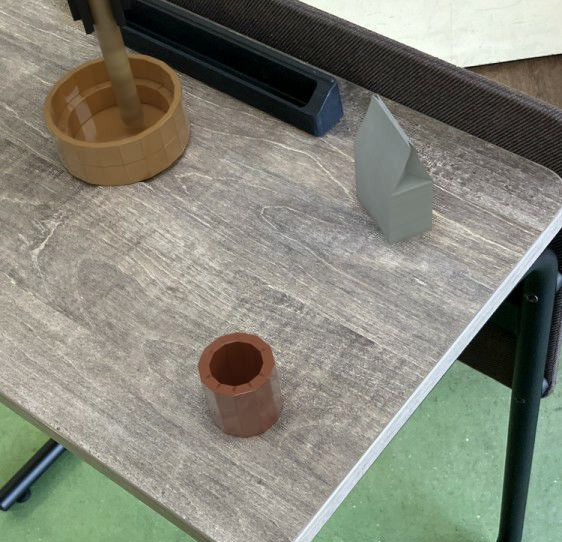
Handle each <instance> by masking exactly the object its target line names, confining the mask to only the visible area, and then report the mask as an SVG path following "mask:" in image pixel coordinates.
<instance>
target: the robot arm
mask: <svg viewBox="0 0 562 542" xmlns="http://www.w3.org/2000/svg"><path fill="white" fill-rule="evenodd" d="M66 2H67V5H68V8H69V11H70V15H71V17H72V20H73V22H78V21H81V23H82V26H83V29H84V31H85V35H86V36H89V35H92V34H93V32H94V33H95V29H94V25H93V21H92V18H91V15H90V11H89V8H88V5H87V2H86V0H66ZM110 2H111V6H112V9H113V13H114V16H115V20H116V23H117V26H119V28H123V27H127V24H126V18H125V13H124V11H126V10H131V9H132V7H131V2H130V0H110Z"/></svg>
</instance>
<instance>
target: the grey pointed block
mask: <svg viewBox="0 0 562 542" xmlns="http://www.w3.org/2000/svg"><path fill="white" fill-rule="evenodd" d="M361 122H362V123H361V125H360V127H359V129H358V131H357V134H356V136H355V138H354V140H353V157H354V178H355V196H356V197H357V198H358V200H359V202H360V203H361V205H362V207H363V208H364V210H365V211H366V213H367V215H368V216H369V217H371V218H372V219H373V220H374V223H375V224H376V225H377V227H378V229H379V231H380V232H381V233H382V235H383V236H384V239H385V240H386V242H387V243H388V244H389V246H392V245H395V244H398V243H400V242H403V241H406V240H409V239H412V238H414V237H417V236H420V235H422V234H425V233H427V232H430V231H432V229H433V208H434V207H433V206H434V186H435V184H434V183H435V181H434V179H433V178H432V177H431V175H430V173H429V172H428V170H427V169H426V168H425V166H424V165H423V163H422V162H421V159H420V158H419V155H418V153H417V149H416V146H415V145H414V144H413V142H412V141H411V139H410V138H409V137H408V135H407V134H406V132H405V131H404V129H403V128H402V126H401V125H400V124H399V122H398V121H397V120H396V118H395V117H394V115H393V114H392V113H391V111H390V109H389V108H388V107H387V106H386V104H385V102H383V100H382V99H381V97H380V96H379V94H378V93H376V96H375V95H374V94H371V98H370V103H369V106H368V108H367V110H366V114H365V116H364V118H363V120H362V121H361Z"/></svg>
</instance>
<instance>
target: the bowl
mask: <svg viewBox="0 0 562 542" xmlns="http://www.w3.org/2000/svg"><path fill="white" fill-rule="evenodd" d="M126 53H127V56H128V60H129V64H130V67H131V71H132V74H133V78H134V81H135V85H136V89H137V92H138V96H139V99H140V103H141V106H142V110H143V114H144V121H143V122H142V123H141V124H140V125H138V126H134V127H129V126H126V125H125V124H124V123H123V121H122V118H121V114H120V111H119V108H118V105H117V101H116V98H115V95H114V91H113V88H112V85H111V82H110V78H109V75H108V72H107V69H106V65H105V62H104V59H103V56H101V57H97V58H93V59H90V60H87V61H85V62H83V63H81V64H80V65H77V66H75V67H73V68H71V69H69V70H68V71H67V72H65V74H64V75H63V76H61V77H60V78H59V79H58V80H57V81H56V82H55V83H53V85H52V87H51V88H50V90H49V91H48V93H47V95H46V96H45V100H44V104H43V110H42V115H43V119H44V122H45V125H46V127H47V130H48V132H49V135H50V138H51V140H52V142H53V145H54V148H55V150H56V153H57V155H58V158H59V160H60V163H61V164H62V166H63V167H64V168H65V169H66V170H67V171H68V172H69V174H71V175H72V176H73V177H75V178H77V179H79V180H81V181H84V182H85V183H87V184H93V185H98V186H105V187H113V186H114V187H115V186H126V185H131V184H135V183H138V182H141V181H144V180H147V179H150V178H153V177H155V176H156V175H158V174H159V173H162V172H163V171H165V170H166V169H167V168H169V167H171V165H172V164H173V163H174V162H175V161H176V160H177V159H178V158H179V157H180V156H181V155H182V154H183V153H184V151H185V148H186V147H187V144H188V143H189V140H190V137H191V120H190V117H189V112H188V108H187V104H186V99H185V95H184V91H183V87H182V83H181V82H180V78H179V77H178V75H177V72H176V71H175V70H173V69H172V67H170V66H169V65H168V64H167V63H166V62H164V61H162V60H160V59H158V58H156V57H153V56H149V55H147V54H140V53H139V54H138V53H129V52H126Z"/></svg>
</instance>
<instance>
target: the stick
mask: <svg viewBox="0 0 562 542" xmlns="http://www.w3.org/2000/svg"><path fill="white" fill-rule="evenodd" d="M86 2H87V5H88V8H89V11H90V15H91V18H92V21H93V25H94V30H95V31H94V33H95V36H96V40H97V42H98V46H99V49H100V52H101V55H102V56H101V57H103V59H104V62H105V65H106V69H107V72H108V75H109V78H110V82H111V85H112V88H113V91H114V95H115V98H116V101H117V105H118V108H119V111H120V114H121V118H122V121H123V123H124V124H125V125H126V126H129V127H134V126H138V125H140V124H141V123H142V122H143V121H144V114H143V110H142V106H141V103H140V99H139V96H138V92H137V89H136V85H135V81H134V78H133V74H132V71H131V67H130V64H129V60H128V56H127V53H128V52H127V49H126V47H125V44H124V39H123V34H122V32H121V27H120V26H117V23H116V20H115V16H114V13H113V9H112V6H111V2H110V0H86Z"/></svg>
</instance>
